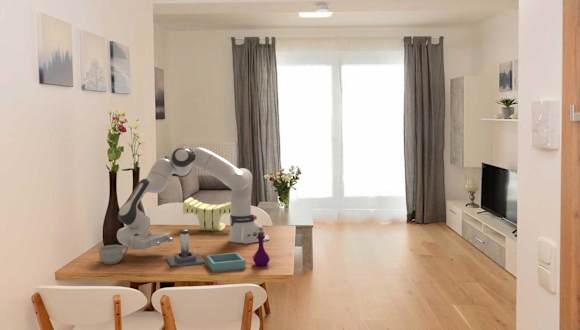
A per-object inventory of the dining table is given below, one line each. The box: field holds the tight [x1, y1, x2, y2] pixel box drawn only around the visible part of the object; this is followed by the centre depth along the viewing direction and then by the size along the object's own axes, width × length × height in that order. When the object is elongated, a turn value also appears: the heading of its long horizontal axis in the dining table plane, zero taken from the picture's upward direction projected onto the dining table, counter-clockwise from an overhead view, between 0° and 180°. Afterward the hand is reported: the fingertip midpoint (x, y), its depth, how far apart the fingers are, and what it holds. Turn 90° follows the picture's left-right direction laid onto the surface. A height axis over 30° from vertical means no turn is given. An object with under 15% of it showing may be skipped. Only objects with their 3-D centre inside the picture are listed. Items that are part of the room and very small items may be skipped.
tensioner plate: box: [165, 251, 206, 268], centre depth 283 cm, size 16×16×3 cm
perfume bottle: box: [252, 226, 271, 267], centre depth 273 cm, size 8×8×18 cm
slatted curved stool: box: [182, 196, 231, 232], centre depth 354 cm, size 30×16×18 cm, turn 83°
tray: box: [205, 252, 247, 273], centre depth 273 cm, size 15×15×4 cm
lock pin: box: [179, 228, 190, 257], centre depth 282 cm, size 4×4×14 cm
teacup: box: [98, 244, 129, 265], centre depth 281 cm, size 14×11×8 cm
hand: (165, 241), depth 288 cm, fingers open, 8 cm apart
